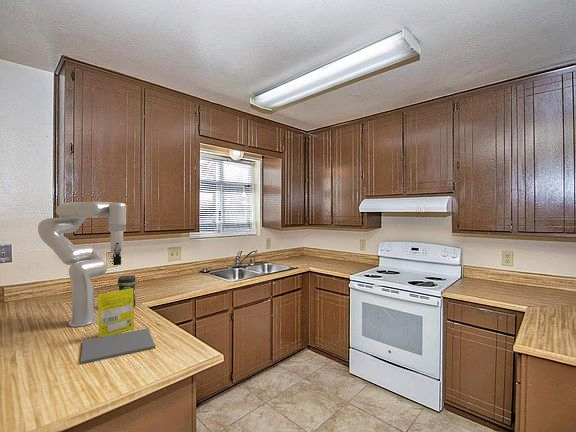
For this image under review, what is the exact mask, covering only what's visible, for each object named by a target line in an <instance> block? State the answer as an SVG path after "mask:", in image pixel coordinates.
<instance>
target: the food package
mask: <svg viewBox="0 0 576 432" xmlns="http://www.w3.org/2000/svg"><path fill="white" fill-rule="evenodd" d="M97 299H98V301H97V304H98V307H97V308H98V313H97V314H98V316H97V317H98V337H103V336H109V335H114V334H120V333H125V332H129V331H132V330H134V328H135V327H134V326H135V323H134V322H135V319H134V317H135V316H134V315H135V313H134V307H135V306H133V288H131V289H126V290H120V291H119V290H116V291H111V292H105V293H100V294H98V297H97Z"/></svg>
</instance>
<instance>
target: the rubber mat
mask: <svg viewBox="0 0 576 432" xmlns="http://www.w3.org/2000/svg"><path fill="white" fill-rule="evenodd" d="M152 349H156V345H155V342H154V340H153V337H152V335H151V331H150V329H149V328H142V329H137V330H133V331H132V330H130V331H125V332H122V333H118V334H114V335H109V336H103V337H99V336H98V337H93V338H88V339H83V340H82V348H81V355H80V365H84V364H88V363H92V362H97V361H98V362H99V361H102V360H107V359H111V358H116V357H120V356H126V355H130V354H135V353H139V352H143V351H144V352H145V351H148V350H152Z"/></svg>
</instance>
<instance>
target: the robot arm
mask: <svg viewBox="0 0 576 432" xmlns="http://www.w3.org/2000/svg"><path fill="white" fill-rule="evenodd" d="M55 213H56V215H57V216H58V217H51V218H50V217H49V218H46V219H45V218H44V219H42V220H41V221H40V222H39V223H38V227H37V231H38V235H39V237H40V239H41V241H43V242H44V243H45V245H46V246H48V247H49V248H51V250H52V251H53V253H55V254H56V256H57V257H58V259H59V260H60V261H61V262H62V263H63V264H65V265H67V266H69V268H68V275H69V279H70V284H71V320H69V321H68V324H67V325H68V327H73V328H75V327H76V328H78V327H79V328H80V327H86V326H89V325H93V324H95V323H97V322H99V319H98V316H96V315H95V286H94V284H93V281H91V279H92V278H97V277H100V276H103V275H105V274H106V272H107V271H108V265H107V262H106V261H105V260H104V258H103V257H102V256H101V255H100V253H98V251H97V250H96V249H95V248H94V247H93V246H91V245H90V244H81V245H75V244H73V243H72V241H70V239H69V238H67V237H66V236H64V235H62V234H71V233H75V232H76V231H77V230H78V229H79V228H80V226H82V224H83V223H84V222H85V220H86V219H87V218H88V219H89V218H108V229H107V230H108V232H110V248H109V249H110V253H113V255H112V261H113V263H112V264H113V266H121V265H122V256H121V255H122V254H121V253H122V252H123V247H124V232H126V231H127V204H126V203H124V202H113V201H74V202H73V201H72V202H71V201H70V202H63V203H60V204H59V205H58V206H56V209H55Z"/></svg>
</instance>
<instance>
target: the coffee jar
mask: <svg viewBox="0 0 576 432" xmlns="http://www.w3.org/2000/svg"><path fill="white" fill-rule="evenodd" d="M136 284H137V280H136V275H134V274H133V275H131V274H130V275H120V276H119V277H118V279H117V285H118V286H117V287H118V291H120V290H126V289H131V288H133V306H134V307H136V305H137V298H136Z"/></svg>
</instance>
